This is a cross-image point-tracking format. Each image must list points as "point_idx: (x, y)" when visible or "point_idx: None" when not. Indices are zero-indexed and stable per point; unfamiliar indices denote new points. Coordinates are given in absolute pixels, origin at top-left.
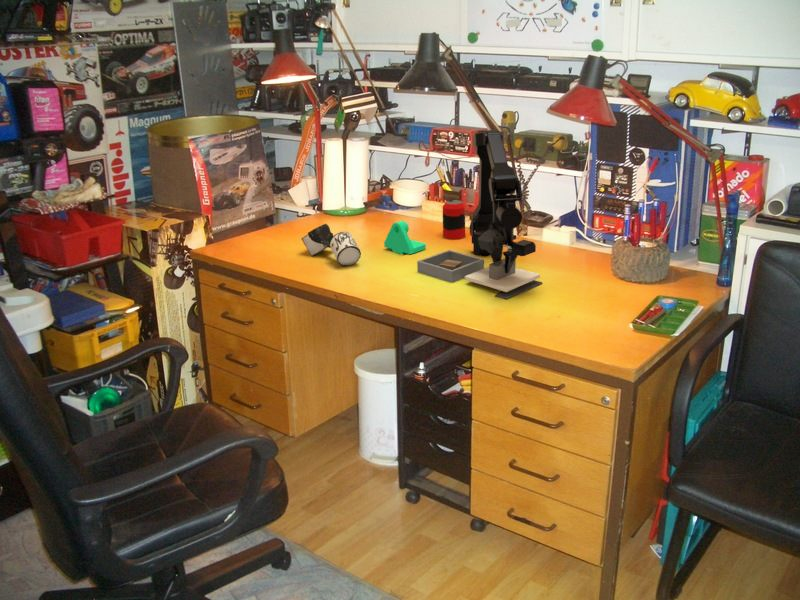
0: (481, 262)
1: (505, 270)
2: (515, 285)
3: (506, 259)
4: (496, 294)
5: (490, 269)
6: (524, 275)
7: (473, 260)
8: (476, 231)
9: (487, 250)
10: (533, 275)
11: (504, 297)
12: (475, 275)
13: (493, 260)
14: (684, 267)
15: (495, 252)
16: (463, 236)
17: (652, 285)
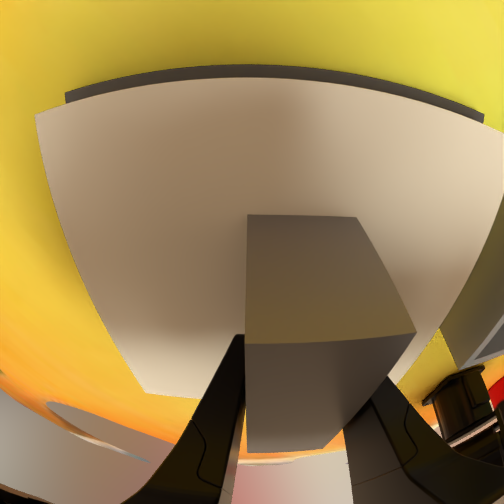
0: (464, 350)
1: (243, 353)
2: (65, 227)
3: (202, 467)
4: (158, 75)
5: (370, 279)
6: (175, 367)
7: (492, 341)
8: (496, 433)
9: (485, 472)
10: (147, 378)
11: (83, 87)
12: (470, 196)
13: (396, 401)
14: (99, 441)
15: (393, 486)
16: (492, 389)
17: (44, 400)
